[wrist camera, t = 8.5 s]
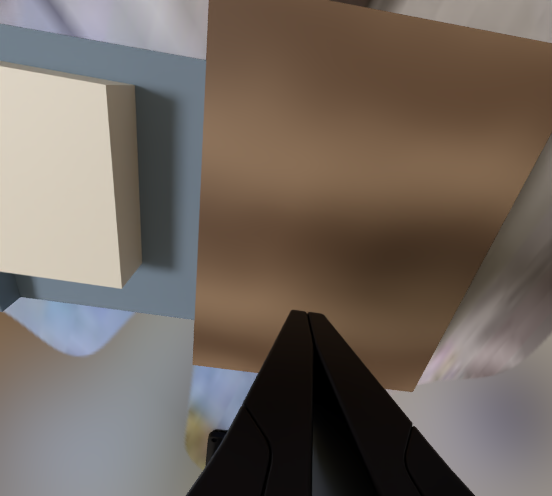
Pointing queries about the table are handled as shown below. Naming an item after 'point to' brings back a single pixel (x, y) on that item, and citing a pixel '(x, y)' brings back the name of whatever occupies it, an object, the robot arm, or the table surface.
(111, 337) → the table surface
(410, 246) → the brown box
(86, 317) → the table surface
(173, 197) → the gray lipped tray
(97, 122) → the cream rectangular block
